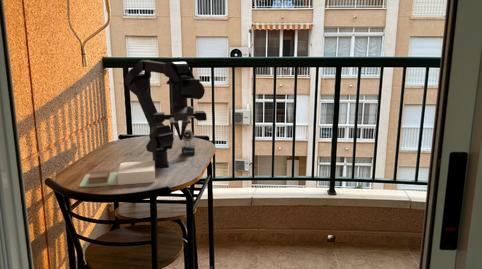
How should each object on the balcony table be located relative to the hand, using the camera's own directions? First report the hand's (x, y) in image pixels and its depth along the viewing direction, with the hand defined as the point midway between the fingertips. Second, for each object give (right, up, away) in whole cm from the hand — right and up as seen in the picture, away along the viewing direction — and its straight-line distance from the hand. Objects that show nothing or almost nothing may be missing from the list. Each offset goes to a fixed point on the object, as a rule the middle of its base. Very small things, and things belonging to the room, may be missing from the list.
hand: (181, 140), depth 146 cm
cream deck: (-15, -13, -4) cm, 20 cm away
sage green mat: (-27, -14, -6) cm, 31 cm away
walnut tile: (-27, -12, -7) cm, 30 cm away
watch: (-1, -7, +27) cm, 28 cm away
